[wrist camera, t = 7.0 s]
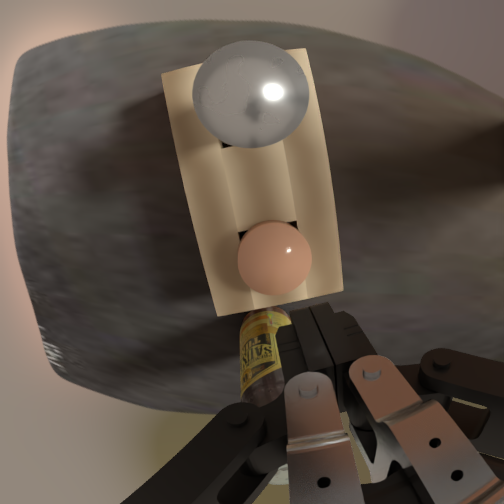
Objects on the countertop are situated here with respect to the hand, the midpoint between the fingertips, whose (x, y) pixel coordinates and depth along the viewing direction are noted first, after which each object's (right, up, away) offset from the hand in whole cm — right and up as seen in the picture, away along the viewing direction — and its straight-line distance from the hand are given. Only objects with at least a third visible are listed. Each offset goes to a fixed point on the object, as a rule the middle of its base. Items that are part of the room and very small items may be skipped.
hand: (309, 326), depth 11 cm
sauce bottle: (-1, -6, +24) cm, 25 cm away
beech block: (-2, +10, +18) cm, 21 cm away
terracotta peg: (-1, +5, +20) cm, 21 cm away
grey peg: (-3, +14, +10) cm, 17 cm away
